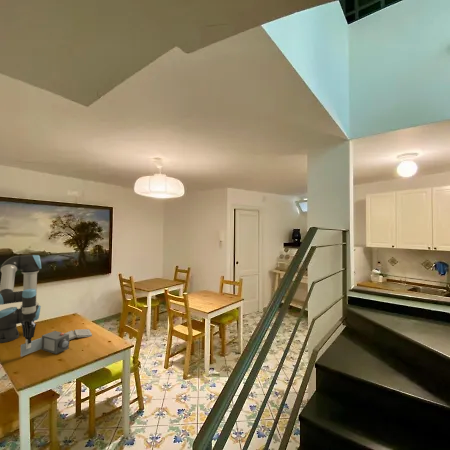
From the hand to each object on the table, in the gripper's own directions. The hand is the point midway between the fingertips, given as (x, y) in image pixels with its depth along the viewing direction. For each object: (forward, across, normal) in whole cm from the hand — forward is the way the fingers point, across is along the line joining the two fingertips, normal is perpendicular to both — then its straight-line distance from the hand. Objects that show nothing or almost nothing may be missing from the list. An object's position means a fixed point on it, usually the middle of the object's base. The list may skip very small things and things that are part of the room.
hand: (28, 347), depth 167 cm
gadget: (+6, -2, +34) cm, 35 cm away
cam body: (+6, +7, +14) cm, 17 cm away
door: (+4, -1, +3) cm, 5 cm away
